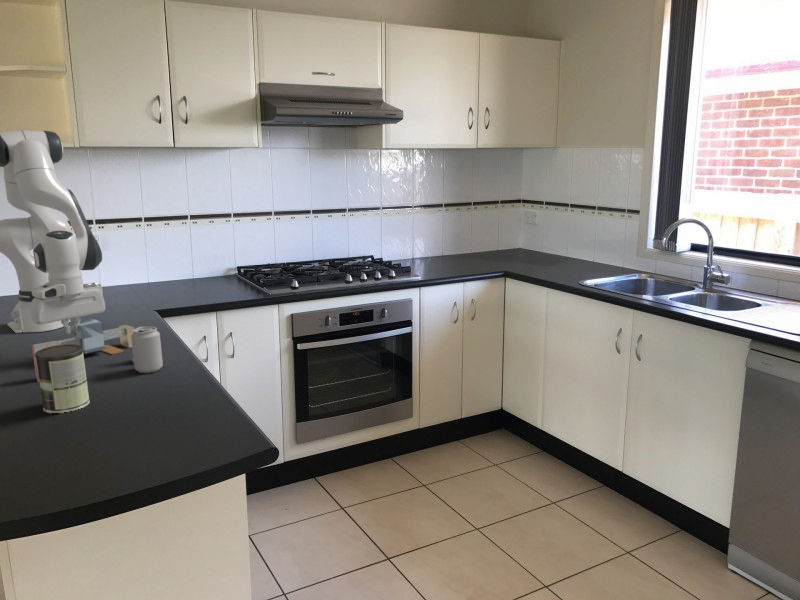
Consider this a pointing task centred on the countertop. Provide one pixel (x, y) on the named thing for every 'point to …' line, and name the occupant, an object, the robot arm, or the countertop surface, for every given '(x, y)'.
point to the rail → (121, 332)
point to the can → (146, 349)
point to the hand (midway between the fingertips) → (72, 332)
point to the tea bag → (38, 347)
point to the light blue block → (91, 335)
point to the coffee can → (62, 378)
